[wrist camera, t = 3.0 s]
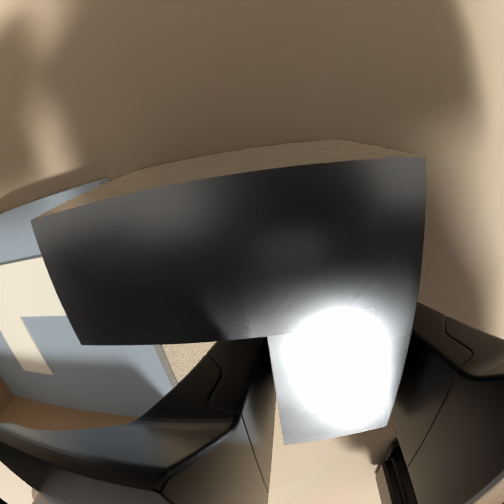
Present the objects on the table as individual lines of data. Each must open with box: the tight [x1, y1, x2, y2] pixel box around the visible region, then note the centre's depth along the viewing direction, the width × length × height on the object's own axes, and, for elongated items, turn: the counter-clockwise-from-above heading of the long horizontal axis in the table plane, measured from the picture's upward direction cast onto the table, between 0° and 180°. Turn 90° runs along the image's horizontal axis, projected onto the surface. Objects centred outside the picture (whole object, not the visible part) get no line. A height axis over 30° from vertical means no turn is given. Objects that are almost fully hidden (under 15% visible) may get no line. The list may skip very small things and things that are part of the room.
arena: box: [0, 178, 178, 431], centre depth 9 cm, size 14×12×5 cm
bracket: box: [30, 139, 425, 445], centre depth 7 cm, size 6×6×5 cm
